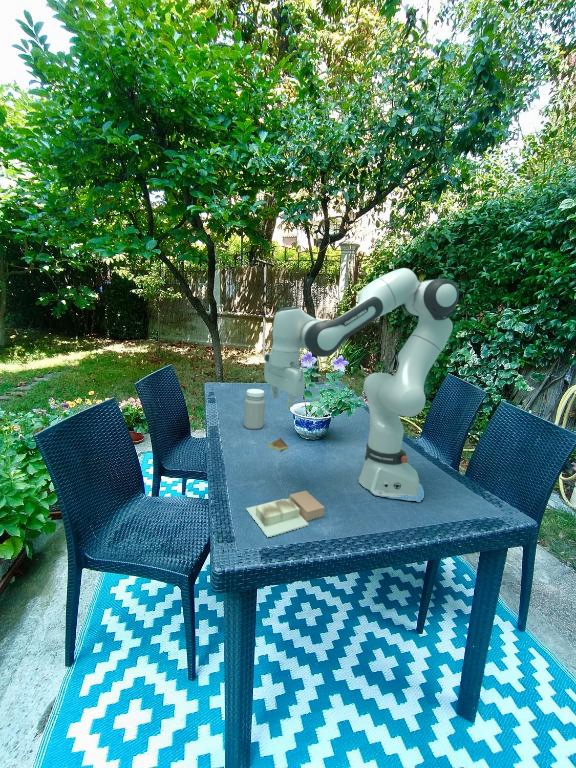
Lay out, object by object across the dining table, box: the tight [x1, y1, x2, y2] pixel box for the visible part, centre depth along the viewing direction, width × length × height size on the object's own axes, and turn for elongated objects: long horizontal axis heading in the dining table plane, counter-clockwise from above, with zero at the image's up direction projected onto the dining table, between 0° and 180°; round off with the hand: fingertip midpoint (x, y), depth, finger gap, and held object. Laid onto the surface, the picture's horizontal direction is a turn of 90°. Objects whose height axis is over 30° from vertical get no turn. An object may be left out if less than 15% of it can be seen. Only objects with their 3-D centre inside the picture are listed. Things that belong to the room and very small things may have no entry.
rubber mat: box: [245, 498, 310, 539], centre depth 101 cm, size 14×13×1 cm
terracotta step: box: [288, 490, 325, 522], centre depth 106 cm, size 10×6×3 cm, turn 30°
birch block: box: [255, 498, 300, 526], centre depth 101 cm, size 6×2×11 cm
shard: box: [267, 437, 289, 452], centre depth 151 cm, size 11×8×2 cm
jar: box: [243, 388, 266, 431], centre depth 169 cm, size 10×10×18 cm
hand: (281, 402), depth 113 cm, fingers open, 8 cm apart
